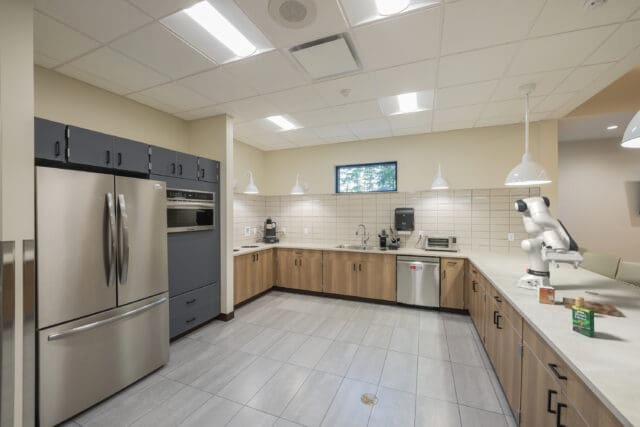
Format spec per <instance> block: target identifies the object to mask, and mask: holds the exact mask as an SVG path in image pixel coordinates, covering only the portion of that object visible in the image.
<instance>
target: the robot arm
mask: <svg viewBox="0 0 640 427" xmlns="http://www.w3.org/2000/svg"><path fill="white" fill-rule="evenodd" d="M550 205H551V202H550V199H549V198H548V197H547V196H535V197H534V196H533V197H532V196H531V197H527V198H523V199H521V198H519V199H517V200H515V202H514V209H515V211H516V212H518V213H522V221H523V225H524V228H525V231H526V233H527V234H528V235H530V236H532V237H533V238H526V239H523V240H522V241H521V243H520V248H521V249H522V250H523V252H525V253H526V254H527V255H528V258H529V265H530V268H526V273H524V274H523V275H520V276H519V277H518V280H517V281H516V282H514V286H515V287H518V288H523V289H527V290H528V289H529V290H534V291H537V285H539V286H548V287H552V286H551V281H550V278H551V272H550V264H551V265H552V266H554V268H556V269H557V268H558V269H559V268H560V265H559V264H573V267H572V268H573V269H575V270H578V269H579V266H578V265H579V264H583V263H584V261H585V259H584V257H583V256H582V255H581V253H580V252H579V246H578V244H577V242H576V241H575V240H574V238H573V237H572V236H571V234H570V233H569V231H568V230H567V228H566V226H565V225H564V224H563V223H562V221H561V220H560V219H558V218H556V217H554V216H553V215H552V214H551V212H550V210H549V208H550ZM545 228H550V230H545ZM552 229H553V230H552Z"/></svg>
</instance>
